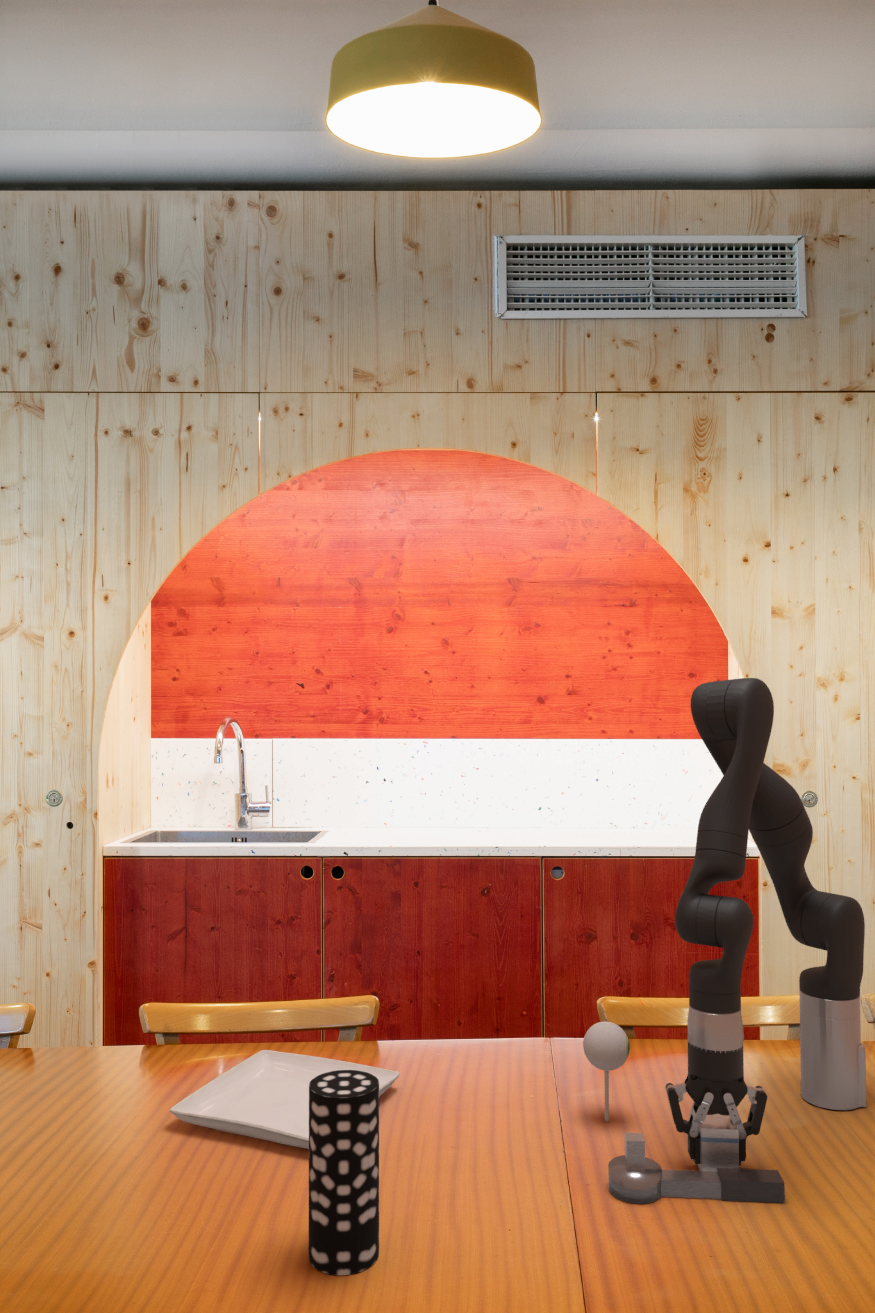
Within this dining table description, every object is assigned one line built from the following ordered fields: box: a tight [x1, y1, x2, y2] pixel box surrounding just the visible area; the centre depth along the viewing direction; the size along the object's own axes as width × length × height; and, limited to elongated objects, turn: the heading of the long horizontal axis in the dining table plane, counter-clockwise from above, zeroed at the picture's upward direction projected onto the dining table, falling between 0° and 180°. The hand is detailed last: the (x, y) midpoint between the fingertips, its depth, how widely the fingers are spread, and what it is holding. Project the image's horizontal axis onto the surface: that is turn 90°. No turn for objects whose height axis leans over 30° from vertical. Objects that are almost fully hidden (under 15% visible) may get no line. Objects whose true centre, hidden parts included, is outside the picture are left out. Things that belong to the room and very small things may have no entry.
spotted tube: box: [308, 1070, 380, 1276], centre depth 116 cm, size 8×8×20 cm
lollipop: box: [582, 1021, 631, 1122], centre depth 152 cm, size 7×7×15 cm
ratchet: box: [607, 1132, 786, 1205], centre depth 130 cm, size 22×7×7 cm, turn 85°
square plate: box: [169, 1049, 401, 1150], centre depth 156 cm, size 27×27×4 cm
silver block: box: [696, 1114, 740, 1172], centre depth 137 cm, size 5×5×6 cm
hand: (716, 1162), depth 137 cm, fingers closed on silver block, 5 cm apart
